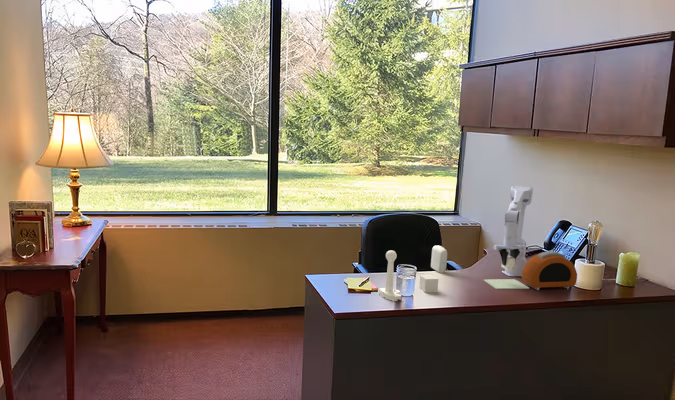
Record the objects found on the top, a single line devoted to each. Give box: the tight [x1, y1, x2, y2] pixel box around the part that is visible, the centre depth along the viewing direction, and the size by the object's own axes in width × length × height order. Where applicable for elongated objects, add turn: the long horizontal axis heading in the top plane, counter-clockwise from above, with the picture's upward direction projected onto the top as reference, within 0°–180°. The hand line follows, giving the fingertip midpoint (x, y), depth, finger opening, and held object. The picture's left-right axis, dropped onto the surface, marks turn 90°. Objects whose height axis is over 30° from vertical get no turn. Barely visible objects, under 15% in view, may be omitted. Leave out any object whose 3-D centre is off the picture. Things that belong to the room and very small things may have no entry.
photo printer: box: [430, 245, 448, 274], centre depth 259 cm, size 10×4×12 cm, turn 17°
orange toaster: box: [521, 250, 578, 291], centre depth 240 cm, size 23×9×17 cm, turn 103°
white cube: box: [419, 274, 439, 293], centre depth 228 cm, size 6×6×6 cm
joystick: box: [378, 250, 402, 302], centre depth 216 cm, size 11×8×20 cm
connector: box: [500, 255, 517, 271], centre depth 239 cm, size 3×11×6 cm, turn 10°
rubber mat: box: [483, 278, 530, 290], centre depth 241 cm, size 16×13×1 cm
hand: (507, 265), depth 240 cm, fingers closed on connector, 3 cm apart
